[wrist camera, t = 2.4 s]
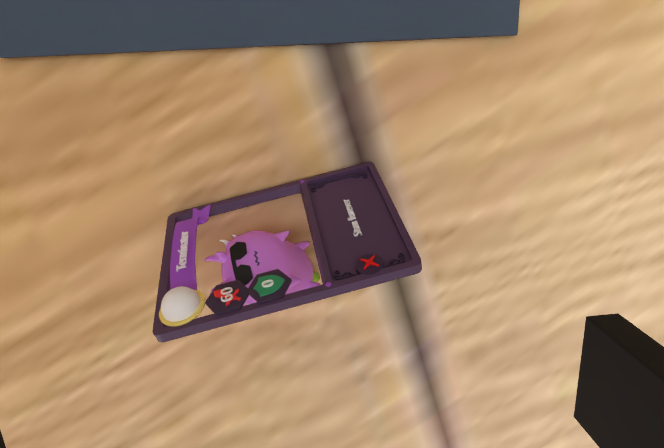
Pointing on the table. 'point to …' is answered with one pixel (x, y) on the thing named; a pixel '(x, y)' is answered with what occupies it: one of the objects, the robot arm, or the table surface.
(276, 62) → the table surface
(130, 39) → the mat
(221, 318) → the game card
